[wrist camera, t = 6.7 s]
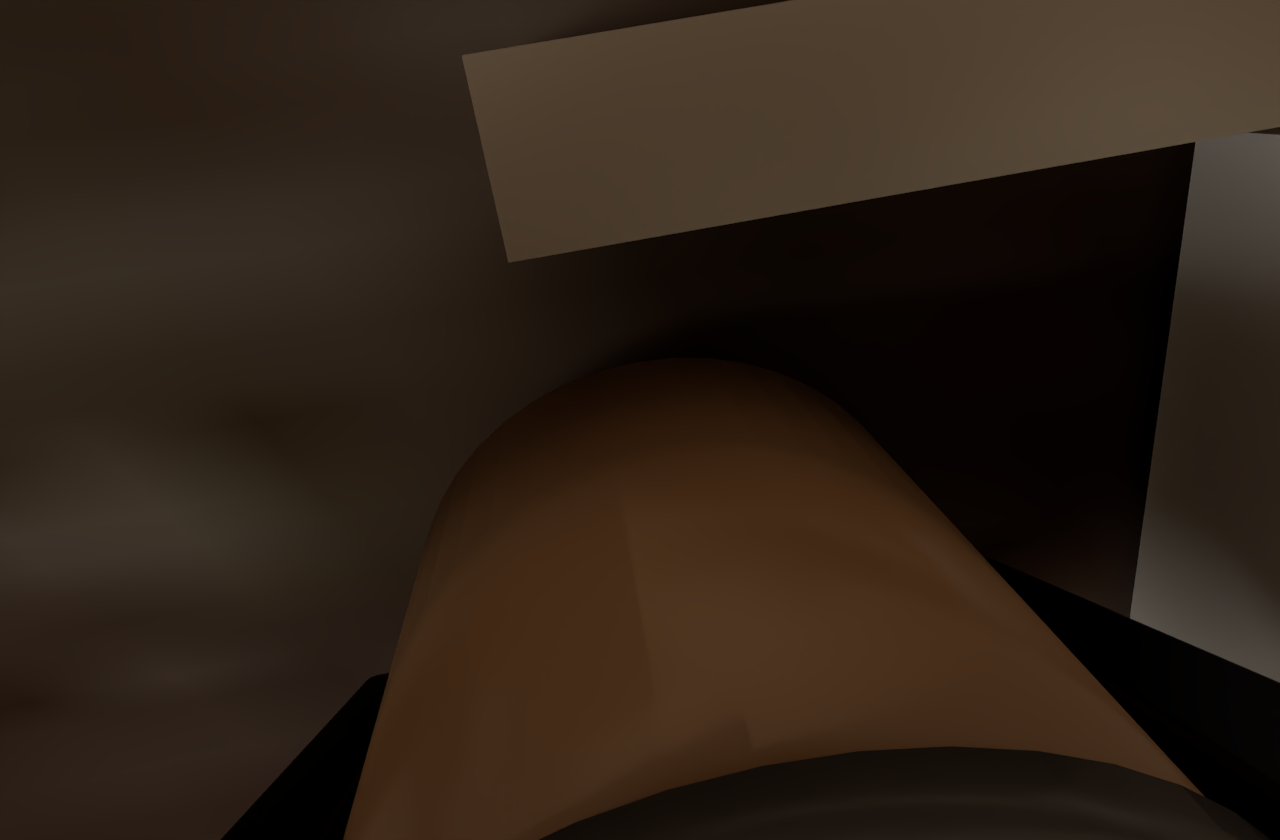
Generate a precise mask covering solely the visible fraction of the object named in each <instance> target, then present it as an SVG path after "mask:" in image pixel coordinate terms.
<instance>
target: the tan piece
mask: <svg viewBox="0 0 1280 840" xmlns="http://www.w3.org/2000/svg"><path fill="white" fill-rule="evenodd" d="M462 59H463V63H464V68H465V72H466V77H467V81H468V86H469V90H470V94H471V99H472V103H473V108H474V112H475V117H476V121H477V125H478V130H479V134H480V139H481V143H482V148H483V152H484V156H485V161H486V165H487V170H488V174H489V179H490V183H491V187H492V192H493V196H494V201H495V205H496V210H497V214H498V218H499V223H500V227H501V232H502V236H503V241H504V245H505V249H506V254H507V258H508V263H510V262H516V261H521V260H527V259H533V258H538V257H544V256H550V255H555V254H561V253H567V252H573V251H578V250H584V249H590V248H595V247H601V246H607V245H612V244H618V243H624V242H629V241H635V240H641V239H646V238H652V237H658V236H663V235H669V234H675V233H680V232H686V231H692V230H697V229H703V228H709V227H714V226H720V225H726V224H731V223H737V222H743V221H749V220H754V219H760V218H766V217H771V216H777V215H783V214H788V213H794V212H800V211H805V210H811V209H817V208H822V207H828V206H834V205H839V204H845V203H851V202H856V201H862V200H868V199H873V198H879V197H885V196H890V195H896V194H902V193H908V192H913V191H919V190H925V189H930V188H936V187H942V186H947V185H953V184H959V183H964V182H970V181H976V180H981V179H987V178H993V177H998V176H1004V175H1010V174H1015V173H1021V172H1027V171H1032V170H1038V169H1044V168H1049V167H1055V166H1061V165H1067V164H1072V163H1078V162H1084V161H1089V160H1095V159H1101V158H1106V157H1112V156H1118V155H1123V154H1129V153H1135V152H1140V151H1146V150H1152V149H1157V148H1163V147H1169V146H1174V145H1180V144H1186V143H1191V142H1197V141H1203V140H1208V139H1214V138H1220V137H1226V136H1231V135H1237V134H1243V133H1248V132H1254V131H1260V130H1265V129H1271V128H1277V127H1280V0H791V1H785V2H779V3H773V4H767V5H761V6H755V7H749V8H743V9H737V10H731V11H725V12H719V13H713V14H707V15H701V16H695V17H689V18H683V19H677V20H671V21H665V22H659V23H653V24H647V25H641V26H635V27H629V28H623V29H617V30H611V31H605V32H599V33H593V34H587V35H581V36H575V37H569V38H563V39H557V40H551V41H545V42H539V43H533V44H527V45H521V46H515V47H509V48H503V49H497V50H491V51H485V52H479V53H473V54H467V55H462Z"/></svg>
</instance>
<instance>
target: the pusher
mask: <svg viewBox="0 0 1280 840" xmlns="http://www.w3.org/2000/svg"><path fill="white" fill-rule="evenodd" d="M1130 618H1131V619H1133V620H1135V621H1138V622H1140V623H1142V624H1145V625H1147V626H1149V627H1152V628H1154V629H1156V630H1159V631H1161V632H1163V633H1165V634H1168V635H1170V636H1172V637H1175V638H1177V639H1179V640H1182V641H1184V642H1186V643H1189V644H1191V645H1193V646H1196V647H1198V648H1200V649H1203V650H1205V651H1207V652H1210V653H1212V654H1214V655H1217V656H1219V657H1221V658H1224V659H1226V660H1228V661H1231V662H1233V663H1235V664H1238V665H1240V666H1242V667H1245V668H1247V669H1249V670H1252V671H1254V672H1256V673H1259V674H1261V675H1263V676H1266V677H1268V678H1270V679H1273V680H1275V681H1277V682H1280V127H1277V128H1271V129H1265V130H1260V131H1254V132H1248V133H1243V134H1237V135H1231V136H1226V137H1220V138H1214V139H1208V140H1203V141H1197V142H1196V143H1195V150H1194V157H1193V164H1192V172H1191V179H1190V186H1189V193H1188V200H1187V208H1186V215H1185V222H1184V229H1183V237H1182V244H1181V251H1180V258H1179V266H1178V273H1177V280H1176V287H1175V294H1174V302H1173V309H1172V316H1171V323H1170V331H1169V338H1168V345H1167V352H1166V360H1165V367H1164V374H1163V381H1162V388H1161V396H1160V403H1159V410H1158V417H1157V425H1156V432H1155V439H1154V446H1153V454H1152V461H1151V468H1150V475H1149V482H1148V490H1147V497H1146V504H1145V511H1144V519H1143V526H1142V533H1141V540H1140V547H1139V555H1138V562H1137V569H1136V576H1135V584H1134V591H1133V598H1132V605H1131V613H1130Z"/></svg>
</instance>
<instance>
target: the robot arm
mask: <svg viewBox="0 0 1280 840" xmlns="http://www.w3.org/2000/svg"><path fill="white" fill-rule="evenodd" d="M985 559H986V560H987V561H988V563H989V564H990V565H991V566H992V567H993V568H994V569H995V570H996V571H997V572H998V573H999V574H1000V576H1001V577H1002V578H1003V579H1004V580H1005V581H1006V582H1007V583H1008V584H1009V585H1010V586H1011V587H1012V589H1013V590H1014V591H1015V592H1016V593H1017V594H1018V595H1019V596H1020V597H1021V598H1022V599H1023V600H1024V601H1025V603H1026V604H1027V605H1028V606H1029V607H1030V608H1031V609H1032V610H1033V611H1034V612H1035V613H1036V614H1037V616H1038V617H1039V618H1040V619H1041V620H1042V621H1043V622H1044V623H1045V624H1046V625H1047V626H1048V627H1049V629H1050V630H1051V631H1052V632H1053V633H1054V634H1055V635H1056V636H1057V637H1058V638H1059V639H1060V640H1061V642H1062V643H1063V644H1064V645H1065V646H1066V647H1067V648H1068V649H1069V650H1070V651H1071V652H1072V653H1073V655H1074V656H1075V657H1076V658H1077V659H1078V660H1079V661H1080V662H1081V663H1082V664H1083V665H1084V666H1085V668H1086V669H1087V670H1088V671H1089V672H1090V673H1091V674H1092V675H1093V676H1094V677H1095V678H1096V679H1097V681H1098V682H1099V683H1100V684H1101V685H1102V686H1103V687H1104V688H1105V689H1106V690H1107V691H1108V692H1109V694H1110V695H1111V696H1112V697H1113V698H1114V699H1115V700H1116V701H1117V702H1118V703H1119V704H1120V705H1121V707H1122V708H1123V709H1124V710H1125V711H1126V712H1127V713H1128V714H1129V715H1130V716H1131V717H1132V718H1133V720H1134V721H1135V722H1136V723H1137V724H1138V725H1139V726H1140V727H1141V728H1142V729H1143V730H1144V731H1145V732H1146V734H1147V735H1148V736H1149V737H1150V738H1151V739H1152V740H1153V741H1154V742H1155V743H1156V744H1157V745H1158V747H1159V748H1160V749H1161V750H1162V751H1163V752H1164V753H1165V754H1166V755H1167V756H1168V757H1169V758H1170V760H1171V761H1172V762H1173V763H1174V764H1175V765H1176V766H1177V767H1178V768H1179V769H1180V770H1181V771H1182V773H1183V774H1184V775H1185V776H1186V777H1187V778H1188V779H1189V780H1190V781H1191V782H1192V783H1193V784H1194V786H1195V787H1196V788H1197V789H1198V790H1199V791H1200V792H1201V793H1202V794H1203V795H1204V796H1205V797H1206V798H1208V799H1210V800H1212V801H1214V802H1216V803H1218V804H1220V805H1222V806H1224V807H1226V808H1228V809H1230V810H1232V811H1234V812H1236V813H1237V814H1238V815H1240V816H1241V817H1242V818H1243V819H1245V820H1246V821H1247V822H1249V823H1250V824H1251V825H1253V826H1254V827H1255V828H1257V829H1258V830H1259V831H1260V832H1262V833H1263V834H1264V835H1266V836H1267V837H1268V838H1270V839H1271V840H1280V682H1277V681H1275V680H1273V679H1270V678H1268V677H1266V676H1263V675H1261V674H1259V673H1256V672H1254V671H1252V670H1249V669H1247V668H1245V667H1242V666H1240V665H1238V664H1235V663H1233V662H1231V661H1228V660H1226V659H1224V658H1221V657H1219V656H1217V655H1214V654H1212V653H1210V652H1207V651H1205V650H1203V649H1200V648H1198V647H1196V646H1193V645H1191V644H1189V643H1186V642H1184V641H1182V640H1179V639H1177V638H1175V637H1172V636H1170V635H1168V634H1165V633H1163V632H1161V631H1159V630H1156V629H1154V628H1152V627H1149V626H1147V625H1145V624H1142V623H1140V622H1138V621H1135V620H1133V619H1131V618H1128V617H1126V616H1124V615H1121V614H1119V613H1117V612H1114V611H1112V610H1110V609H1107V608H1105V607H1103V606H1100V605H1098V604H1096V603H1093V602H1091V601H1089V600H1086V599H1084V598H1082V597H1079V596H1077V595H1075V594H1072V593H1070V592H1068V591H1065V590H1063V589H1061V588H1058V587H1056V586H1054V585H1051V584H1049V583H1047V582H1044V581H1042V580H1040V579H1037V578H1035V577H1033V576H1030V575H1028V574H1026V573H1023V572H1021V571H1019V570H1016V569H1014V568H1012V567H1009V566H1007V565H1005V564H1002V563H1000V562H998V561H995V560H993V559H990V558H985ZM388 677H389V673H386V674H381V675H376V676H373V677H371V678H369V679H368V680H367V681H366V682H365V683H364V684H363V685H362V686H361V687H360V689H359V690H358V691H357V692H356V693H355V694H354V695H353V696H352V697H351V698H350V699H349V701H348V702H347V703H346V704H345V705H344V706H343V707H342V708H341V709H340V710H339V711H338V712H337V714H336V715H335V716H334V717H333V718H332V719H331V720H330V721H329V722H328V723H327V724H326V726H325V727H324V728H323V729H322V730H321V731H320V732H319V733H318V734H317V735H316V736H315V737H314V739H313V740H312V741H311V742H310V743H309V744H308V745H307V746H306V747H305V748H304V749H303V751H302V752H301V753H300V754H299V755H298V756H297V757H296V758H295V759H294V760H293V761H292V762H291V764H290V765H289V766H288V767H287V768H286V769H285V770H284V771H283V772H282V773H281V774H280V776H279V777H278V778H277V779H276V780H275V781H274V782H273V783H272V784H271V785H270V786H269V788H268V789H267V790H266V791H265V792H264V793H263V794H262V795H261V796H260V797H259V798H258V799H257V801H256V802H255V803H254V804H253V805H252V806H251V807H250V808H249V809H248V810H247V811H246V813H245V814H244V815H243V816H242V817H241V818H240V819H239V820H238V821H237V822H236V823H235V824H234V826H233V827H232V828H231V829H230V830H229V831H228V832H227V833H226V834H225V835H224V836H223V838H222V839H221V840H343V838H344V834H345V831H346V827H347V823H348V820H349V816H350V813H351V809H352V806H353V802H354V798H355V795H356V791H357V788H358V784H359V780H360V777H361V773H362V770H363V766H364V763H365V759H366V755H367V752H368V748H369V745H370V741H371V738H372V734H373V730H374V727H375V723H376V720H377V716H378V712H379V709H380V705H381V702H382V698H383V695H384V691H385V687H386V684H387V680H388Z"/></svg>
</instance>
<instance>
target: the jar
mask: <svg viewBox="0 0 1280 840" xmlns="http://www.w3.org/2000/svg"><path fill="white" fill-rule="evenodd" d="M343 840H1271V839H1270V838H1268V837H1267V836H1266V835H1264V834H1263V833H1262V832H1260V831H1259V830H1258V829H1257V828H1255V827H1254V826H1253V825H1251V824H1250V823H1249V822H1247V821H1246V820H1245V819H1243V818H1242V817H1241V816H1240V815H1238V814H1237V813H1236V812H1234V811H1232V810H1230V809H1228V808H1226V807H1224V806H1222V805H1220V804H1218V803H1216V802H1214V801H1212V800H1210V799H1208V798H1206V797H1205V796H1204V795H1203V794H1202V793H1201V792H1200V791H1199V790H1198V789H1197V788H1196V787H1195V786H1194V784H1193V783H1192V782H1191V781H1190V780H1189V779H1188V778H1187V777H1186V776H1185V775H1184V774H1183V773H1182V771H1181V770H1180V769H1179V768H1178V767H1177V766H1176V765H1175V764H1174V763H1173V762H1172V761H1171V760H1170V758H1169V757H1168V756H1167V755H1166V754H1165V753H1164V752H1163V751H1162V750H1161V749H1160V748H1159V747H1158V745H1157V744H1156V743H1155V742H1154V741H1153V740H1152V739H1151V738H1150V737H1149V736H1148V735H1147V734H1146V732H1145V731H1144V730H1143V729H1142V728H1141V727H1140V726H1139V725H1138V724H1137V723H1136V722H1135V721H1134V720H1133V718H1132V717H1131V716H1130V715H1129V714H1128V713H1127V712H1126V711H1125V710H1124V709H1123V708H1122V707H1121V705H1120V704H1119V703H1118V702H1117V701H1116V700H1115V699H1114V698H1113V697H1112V696H1111V695H1110V694H1109V692H1108V691H1107V690H1106V689H1105V688H1104V687H1103V686H1102V685H1101V684H1100V683H1099V682H1098V681H1097V679H1096V678H1095V677H1094V676H1093V675H1092V674H1091V673H1090V672H1089V671H1088V670H1087V669H1086V668H1085V666H1084V665H1083V664H1082V663H1081V662H1080V661H1079V660H1078V659H1077V658H1076V657H1075V656H1074V655H1073V653H1072V652H1071V651H1070V650H1069V649H1068V648H1067V647H1066V646H1065V645H1064V644H1063V643H1062V642H1061V640H1060V639H1059V638H1058V637H1057V636H1056V635H1055V634H1054V633H1053V632H1052V631H1051V630H1050V629H1049V627H1048V626H1047V625H1046V624H1045V623H1044V622H1043V621H1042V620H1041V619H1040V618H1039V617H1038V616H1037V614H1036V613H1035V612H1034V611H1033V610H1032V609H1031V608H1030V607H1029V606H1028V605H1027V604H1026V603H1025V601H1024V600H1023V599H1022V598H1021V597H1020V596H1019V595H1018V594H1017V593H1016V592H1015V591H1014V590H1013V589H1012V587H1011V586H1010V585H1009V584H1008V583H1007V582H1006V581H1005V580H1004V579H1003V578H1002V577H1001V576H1000V574H999V573H998V572H997V571H996V570H995V569H994V568H993V567H992V566H991V565H990V564H989V563H988V561H987V560H986V559H985V558H984V557H983V556H982V555H981V554H980V553H979V552H978V551H977V550H976V548H975V547H974V546H973V545H972V544H971V543H970V542H969V541H968V540H967V539H966V538H965V537H964V535H963V534H962V533H961V532H960V531H959V530H958V529H957V528H956V527H955V526H954V525H953V524H952V522H951V521H950V520H949V519H948V518H947V517H946V516H945V515H944V514H943V513H942V512H941V511H940V509H939V508H938V507H937V506H936V505H935V504H934V503H933V502H932V501H931V500H930V499H929V498H928V496H927V495H926V494H925V493H924V492H923V491H922V490H921V489H920V488H919V487H918V486H917V485H916V483H915V482H914V481H913V480H912V479H911V478H910V477H909V476H908V475H907V474H906V473H905V472H904V470H903V469H902V468H901V467H900V466H899V465H898V464H897V463H896V462H895V461H894V460H893V459H892V457H891V456H890V455H889V454H888V453H887V452H886V451H885V450H884V449H883V448H882V447H881V446H880V445H879V443H878V442H877V441H876V440H875V439H874V438H873V437H872V436H871V435H870V434H869V433H868V432H867V430H866V429H865V428H864V427H863V426H862V425H861V424H860V423H859V422H858V421H857V420H856V419H855V418H854V417H852V416H851V415H850V414H849V413H848V412H846V411H845V410H844V409H843V408H842V407H840V406H839V405H838V404H837V403H836V402H834V401H833V400H831V399H829V398H828V397H826V396H825V395H823V394H821V393H820V392H818V391H816V390H815V389H813V388H811V387H810V386H808V385H806V384H804V383H801V382H799V381H797V380H794V379H792V378H790V377H787V376H785V375H783V374H780V373H778V372H775V371H771V370H768V369H764V368H760V367H757V366H753V365H749V364H746V363H741V362H733V361H726V360H719V359H711V358H667V359H659V360H650V361H642V362H635V363H630V364H626V365H622V366H618V367H614V368H610V369H606V370H602V371H599V372H596V373H593V374H591V375H588V376H586V377H583V378H580V379H578V380H575V381H573V382H570V383H567V384H565V385H563V386H561V387H559V388H558V389H556V390H554V391H552V392H550V393H548V394H546V395H544V396H543V397H541V398H539V399H537V400H535V401H533V402H532V403H530V404H529V405H528V406H526V407H525V408H523V409H522V410H521V411H519V412H518V413H516V414H515V415H514V416H512V417H511V418H509V419H508V420H507V421H505V422H504V423H503V424H502V425H501V426H500V427H499V428H498V429H496V430H495V431H494V432H493V433H492V434H491V435H490V436H489V437H488V438H487V439H486V440H485V441H484V442H483V443H481V444H480V445H479V447H478V448H477V449H476V450H475V451H474V453H473V454H472V455H471V456H470V458H469V459H468V460H467V461H466V463H465V464H464V465H463V466H462V467H461V469H460V470H459V471H458V473H457V474H456V476H455V478H454V479H453V481H452V483H451V484H450V486H449V488H448V489H447V491H446V493H445V495H444V496H443V498H442V500H441V502H440V505H439V507H438V510H437V512H436V514H435V517H434V519H433V522H432V524H431V527H430V530H429V534H428V537H427V541H426V544H425V548H424V551H423V555H422V559H421V562H420V566H419V569H418V573H417V576H416V580H415V584H414V587H413V591H412V594H411V598H410V602H409V605H408V609H407V612H406V616H405V619H404V623H403V627H402V630H401V634H400V637H399V641H398V644H397V648H396V652H395V655H394V659H393V662H392V666H391V670H390V673H389V677H388V680H387V684H386V687H385V691H384V695H383V698H382V702H381V705H380V709H379V712H378V716H377V720H376V723H375V727H374V730H373V734H372V738H371V741H370V745H369V748H368V752H367V755H366V759H365V763H364V766H363V770H362V773H361V777H360V780H359V784H358V788H357V791H356V795H355V798H354V802H353V806H352V809H351V813H350V816H349V820H348V823H347V827H346V831H345V834H344V838H343Z"/></svg>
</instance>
